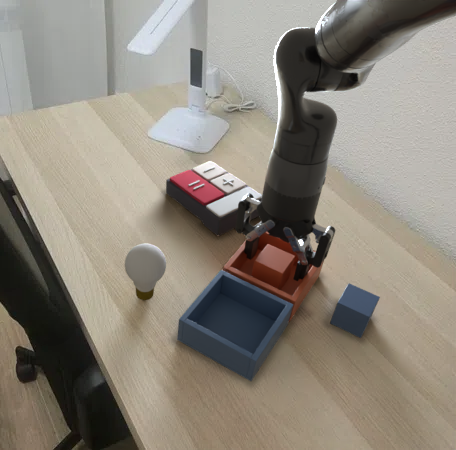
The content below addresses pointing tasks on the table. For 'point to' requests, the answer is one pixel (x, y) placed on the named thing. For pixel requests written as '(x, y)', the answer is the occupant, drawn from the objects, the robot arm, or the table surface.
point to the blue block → (354, 310)
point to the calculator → (211, 195)
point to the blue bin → (234, 324)
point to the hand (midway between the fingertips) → (274, 266)
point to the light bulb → (145, 268)
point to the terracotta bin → (289, 292)
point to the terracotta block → (273, 266)
